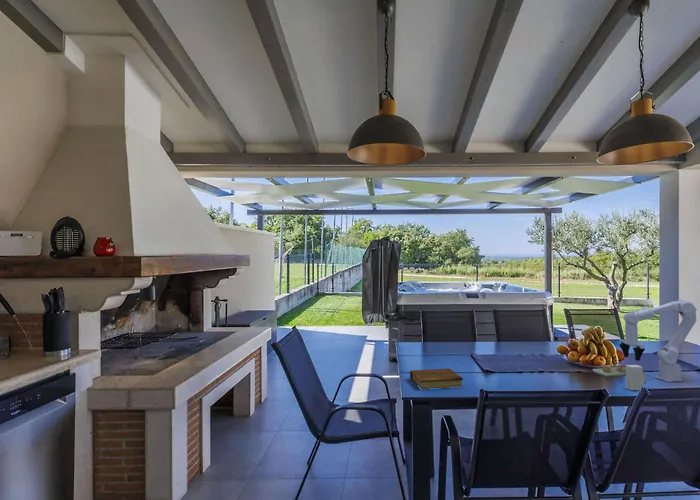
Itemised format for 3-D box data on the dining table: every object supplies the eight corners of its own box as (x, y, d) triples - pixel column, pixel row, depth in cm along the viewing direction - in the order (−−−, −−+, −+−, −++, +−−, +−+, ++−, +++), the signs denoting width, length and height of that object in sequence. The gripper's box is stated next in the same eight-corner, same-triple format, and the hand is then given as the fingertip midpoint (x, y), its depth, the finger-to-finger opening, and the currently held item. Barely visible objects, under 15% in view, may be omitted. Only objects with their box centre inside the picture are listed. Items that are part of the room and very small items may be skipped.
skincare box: (637, 388, 202) (636, 364, 203) (643, 390, 198) (643, 366, 198) (625, 388, 202) (625, 364, 202) (631, 391, 198) (631, 367, 198)
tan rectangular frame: (621, 370, 231) (621, 364, 231) (629, 372, 226) (629, 367, 226) (600, 371, 229) (600, 365, 229) (607, 374, 224) (607, 368, 224)
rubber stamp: (640, 380, 214) (640, 370, 214) (647, 383, 210) (647, 372, 210) (636, 380, 214) (636, 370, 214) (643, 383, 210) (643, 373, 210)
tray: (622, 369, 234) (622, 367, 234) (636, 374, 224) (636, 372, 224) (592, 371, 231) (592, 369, 231) (605, 376, 221) (605, 374, 222)
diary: (449, 378, 224) (449, 368, 224) (463, 389, 205) (463, 378, 205) (410, 380, 221) (409, 369, 221) (420, 391, 202) (420, 380, 202)
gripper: (614, 332, 228) (615, 355, 228) (636, 337, 214) (636, 362, 214) (625, 331, 229) (625, 355, 229) (647, 336, 215) (648, 361, 215)
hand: (631, 358), depth 222 cm, fingers open, 7 cm apart
